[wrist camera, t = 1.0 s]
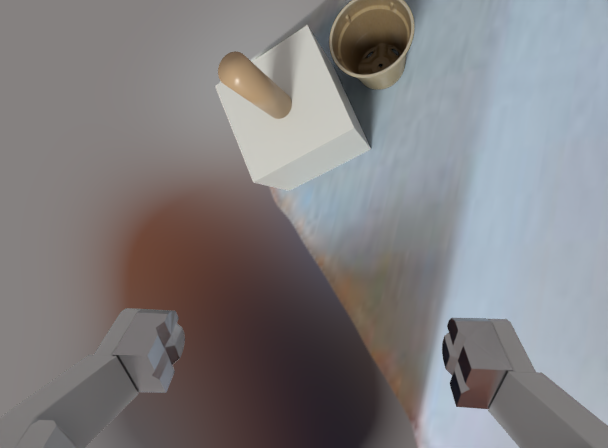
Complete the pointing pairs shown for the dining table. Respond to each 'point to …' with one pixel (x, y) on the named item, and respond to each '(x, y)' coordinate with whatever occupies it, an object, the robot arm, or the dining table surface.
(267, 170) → the white handled block
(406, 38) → the flower pot
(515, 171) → the dining table surface
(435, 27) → the dining table surface
